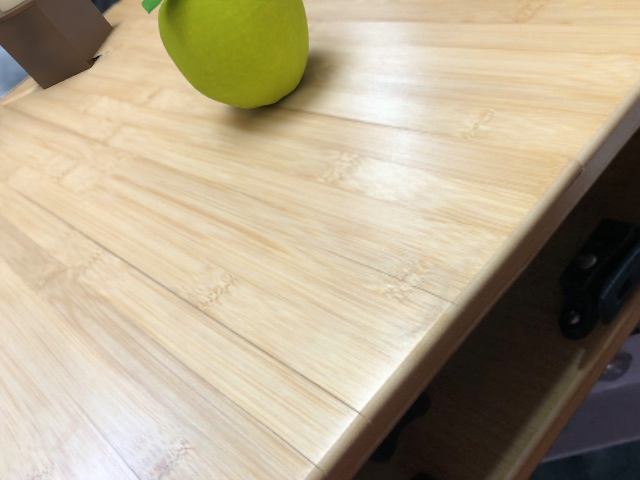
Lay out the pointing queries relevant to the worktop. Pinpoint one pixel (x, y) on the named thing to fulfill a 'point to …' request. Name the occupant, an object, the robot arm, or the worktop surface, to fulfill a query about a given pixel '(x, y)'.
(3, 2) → the towel roll
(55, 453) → the worktop surface
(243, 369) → the worktop surface
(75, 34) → the walnut box
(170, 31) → the fruit
